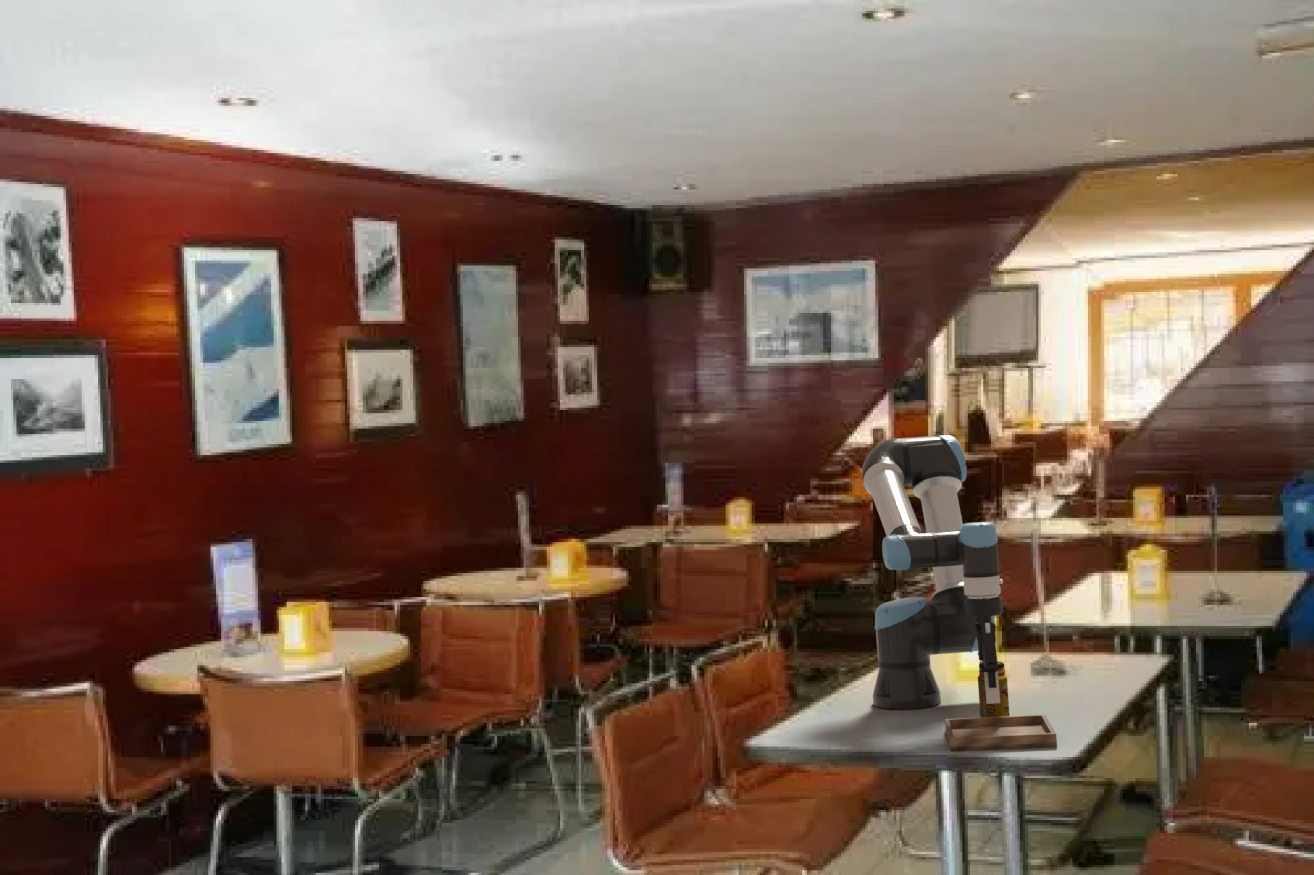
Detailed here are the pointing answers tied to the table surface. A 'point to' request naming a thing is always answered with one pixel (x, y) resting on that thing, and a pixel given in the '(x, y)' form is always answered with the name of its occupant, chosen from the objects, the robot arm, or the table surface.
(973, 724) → the walnut tray
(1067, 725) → the table surface
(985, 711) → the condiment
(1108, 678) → the table surface
